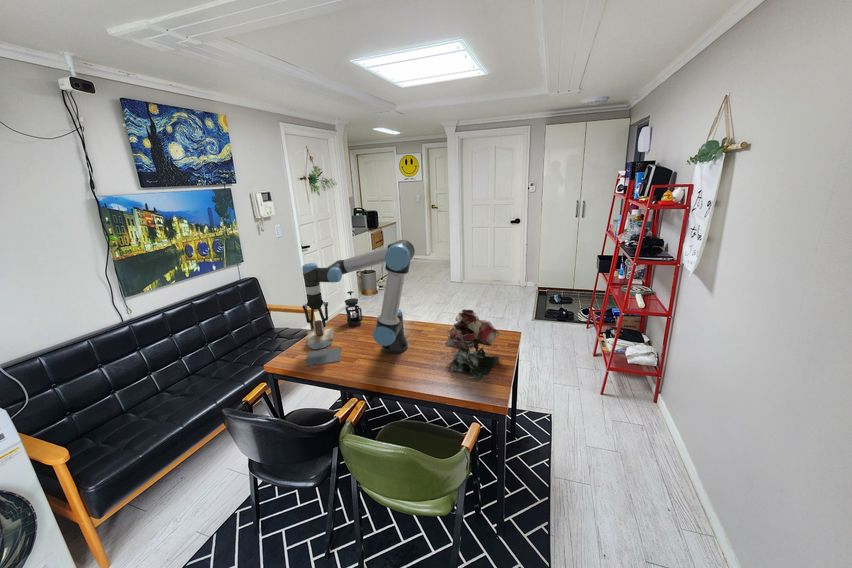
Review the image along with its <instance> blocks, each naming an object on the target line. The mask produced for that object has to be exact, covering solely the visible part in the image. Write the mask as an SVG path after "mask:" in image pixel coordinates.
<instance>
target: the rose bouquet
mask: <svg viewBox="0 0 852 568" xmlns="http://www.w3.org/2000/svg"><path fill="white" fill-rule="evenodd" d="M455 321H456V322H455V323H454V324H453V325H452V326H451V327H449V330H447V331H446V332H447V333H449V334H447V339H446V341H445V343H444V347H446V348H451V349H455V350H457V352H455V353H454V354H453V359H452V361H451V362H449V363H448V366H451V365H453V366H451V367H450V372H457V371H458V372H460V373H463V374H466V375H468V371H466V369H468V368H471V369H470V374H472V375H473V376H468V378H469V379H472V380H474V381H477V382H479V381H482V380H483V379H485V377H486V376H488V375H489V374H490V372H491V371H492V368H493V367H495V366H496V365H497V363H498V360H499V359H500V357H499V355H498V356H497V355H495V356H494V355H486V352H485V351H484V348H483V347H481V348H479V347H480V346H479V344H480V345H483V346H487V347H493V343H494V341H496V337H498V335H499V334H500V332H499V330H497V329H496V327H494V326H495V325H493V324H492V323H491V321H489V320H486V319H483V320H482V319H480V318H479V315H477V313H476V312H475V311H474V310H473V309H470V308H469V309H466V308H465V309H464V308H462V310H461V311H459V312H458V314H457V315H456V316H455ZM473 349H475V351H472V350H473Z"/></svg>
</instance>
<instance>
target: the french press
mask: <svg viewBox="0 0 852 568" xmlns="http://www.w3.org/2000/svg"><path fill="white" fill-rule="evenodd" d="M346 293H347V294H349V296H350V298H347V299H345V300H344V304H345V305H346V307H345V313H346V319H347V320H346V325H347V326H348V327H351V328H354V327H359V326H361V325H362V321H363V314H362V313H363V311H362V308H361V307H360V306H359V305H358V304H359V303H358V302H359V299H358V298H356V297H355V298H354V297H353V298H352V294H353V293H354V291H353V290H351V291H347V292H346ZM349 308H351V309H349ZM353 308H354V309H353Z"/></svg>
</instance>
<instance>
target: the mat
mask: <svg viewBox="0 0 852 568" xmlns="http://www.w3.org/2000/svg"><path fill="white" fill-rule="evenodd" d="M340 361H341V347H334V348H333V347H332V348H327V349H326V348H324V349H317V350H313V351H311V350H310V351H308V352H307V356H306V361H305V367H306V368H307V367H313V366H319V365H327V364H333V363H339V362H340Z"/></svg>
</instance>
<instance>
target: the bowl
mask: <svg viewBox="0 0 852 568" xmlns="http://www.w3.org/2000/svg"><path fill="white" fill-rule="evenodd" d="M331 344H332V341H331V342H324V343H316V344H309V345H307V346H308V348H310V349H313V350H322V349H326V348H327V347H328V346H330V345H331Z"/></svg>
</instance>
